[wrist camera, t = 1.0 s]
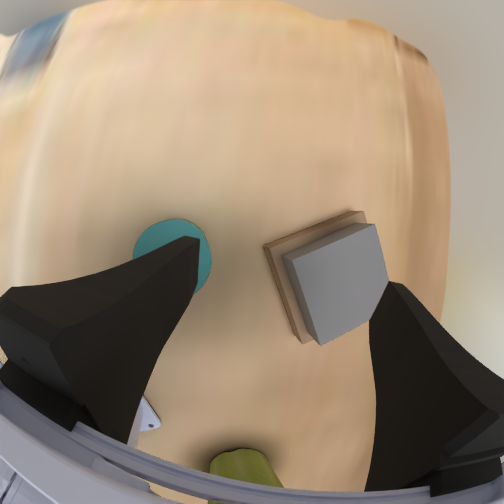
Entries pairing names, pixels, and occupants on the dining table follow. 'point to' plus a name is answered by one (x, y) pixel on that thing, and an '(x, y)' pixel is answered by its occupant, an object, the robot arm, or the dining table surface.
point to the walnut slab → (296, 241)
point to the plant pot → (244, 468)
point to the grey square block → (338, 280)
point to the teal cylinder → (171, 231)
